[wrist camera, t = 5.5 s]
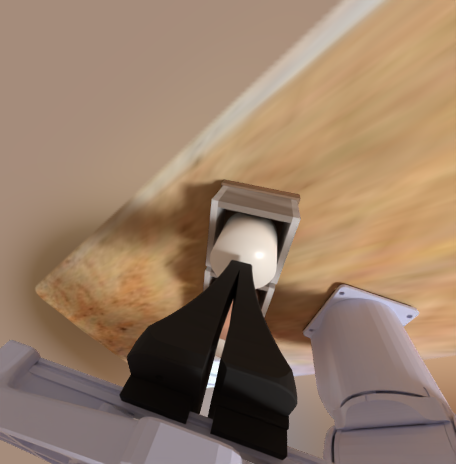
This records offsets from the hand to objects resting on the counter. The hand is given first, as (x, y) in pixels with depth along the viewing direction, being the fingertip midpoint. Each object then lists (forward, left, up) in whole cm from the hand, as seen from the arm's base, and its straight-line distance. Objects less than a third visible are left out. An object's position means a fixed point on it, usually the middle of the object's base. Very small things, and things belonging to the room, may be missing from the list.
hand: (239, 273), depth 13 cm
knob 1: (0, 0, -5) cm, 5 cm away
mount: (-7, -1, -8) cm, 11 cm away
